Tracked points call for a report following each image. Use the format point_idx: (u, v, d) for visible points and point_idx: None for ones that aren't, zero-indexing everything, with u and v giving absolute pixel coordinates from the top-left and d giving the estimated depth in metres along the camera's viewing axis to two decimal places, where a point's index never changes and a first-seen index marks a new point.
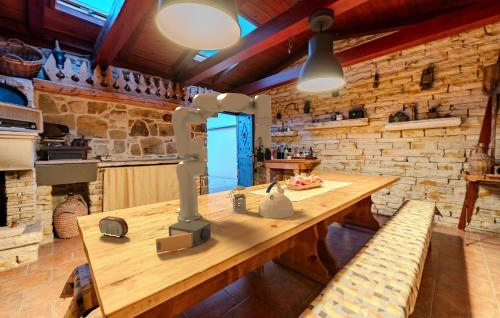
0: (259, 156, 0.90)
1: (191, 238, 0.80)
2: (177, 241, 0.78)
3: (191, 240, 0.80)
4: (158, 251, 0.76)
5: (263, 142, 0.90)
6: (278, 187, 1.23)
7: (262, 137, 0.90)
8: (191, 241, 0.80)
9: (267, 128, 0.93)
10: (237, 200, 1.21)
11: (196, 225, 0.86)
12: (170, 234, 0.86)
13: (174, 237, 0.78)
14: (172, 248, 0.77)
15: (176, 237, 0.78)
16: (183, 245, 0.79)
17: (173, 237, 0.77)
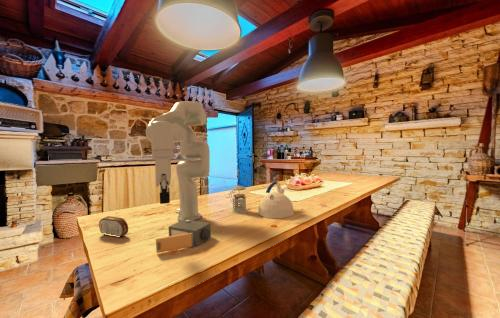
0: (164, 197, 0.74)
1: (191, 238, 0.80)
2: (177, 241, 0.78)
3: (191, 240, 0.80)
4: (158, 251, 0.76)
5: (168, 179, 0.75)
6: (278, 187, 1.23)
7: (167, 173, 0.75)
8: (191, 241, 0.80)
9: (170, 162, 0.78)
10: (237, 200, 1.21)
11: (196, 225, 0.86)
12: (170, 234, 0.86)
13: (174, 237, 0.78)
14: (172, 248, 0.77)
15: (176, 237, 0.78)
16: (183, 245, 0.79)
17: (173, 237, 0.77)
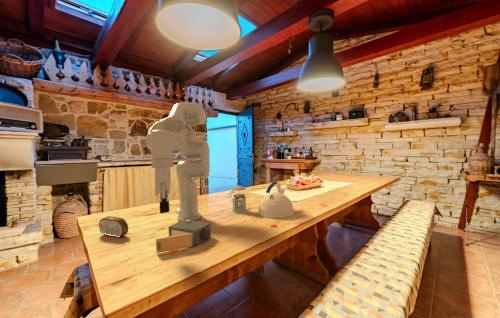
0: (164, 207, 0.77)
1: (191, 238, 0.80)
2: (177, 241, 0.78)
3: (191, 240, 0.80)
4: (158, 251, 0.76)
5: (168, 188, 0.75)
6: (278, 187, 1.23)
7: (166, 182, 0.74)
8: (191, 241, 0.80)
9: (169, 170, 0.78)
10: (237, 200, 1.21)
11: (196, 225, 0.86)
12: (170, 234, 0.86)
13: (174, 237, 0.78)
14: (172, 248, 0.77)
15: (176, 237, 0.78)
16: (183, 245, 0.79)
17: (173, 237, 0.77)
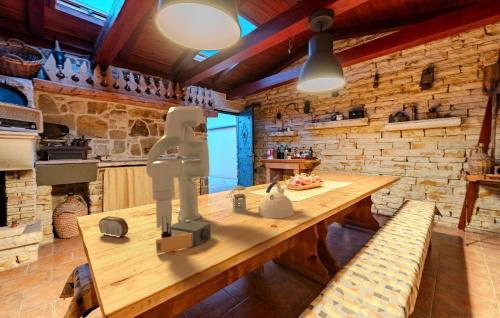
0: None
1: (191, 238, 0.80)
2: (177, 241, 0.78)
3: (191, 240, 0.80)
4: (158, 252, 0.75)
5: (169, 221, 0.74)
6: (278, 187, 1.23)
7: (168, 215, 0.74)
8: (191, 241, 0.80)
9: (171, 201, 0.78)
10: (237, 200, 1.21)
11: (196, 225, 0.86)
12: None
13: (174, 237, 0.77)
14: (172, 248, 0.77)
15: (176, 237, 0.78)
16: (183, 245, 0.79)
17: (173, 237, 0.77)
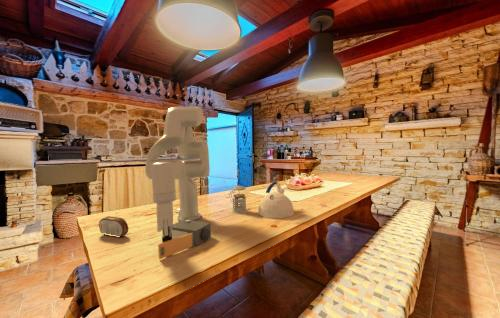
0: None
1: (192, 238, 0.80)
2: (179, 243, 0.76)
3: (192, 240, 0.80)
4: (161, 257, 0.72)
5: (170, 225, 0.72)
6: (278, 187, 1.23)
7: (169, 219, 0.71)
8: (192, 241, 0.80)
9: (172, 204, 0.74)
10: (237, 200, 1.21)
11: (196, 225, 0.86)
12: None
13: (176, 239, 0.75)
14: (174, 251, 0.75)
15: (178, 239, 0.76)
16: (184, 246, 0.78)
17: (175, 239, 0.75)
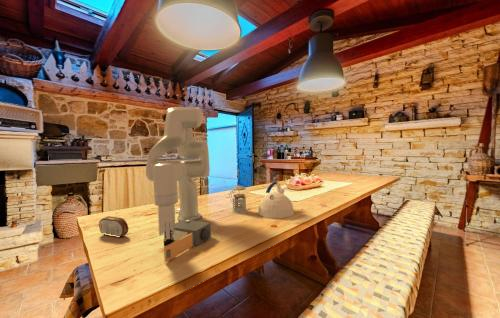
0: None
1: (192, 238, 0.80)
2: (182, 244, 0.75)
3: (192, 240, 0.80)
4: (167, 259, 0.70)
5: (172, 228, 0.70)
6: (278, 187, 1.23)
7: (171, 222, 0.69)
8: (192, 241, 0.80)
9: (174, 206, 0.73)
10: (237, 200, 1.21)
11: (196, 225, 0.86)
12: None
13: (180, 240, 0.74)
14: (178, 252, 0.74)
15: (181, 240, 0.75)
16: (186, 247, 0.77)
17: (179, 241, 0.74)
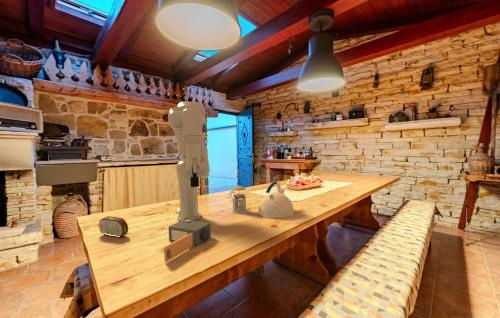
0: (194, 181, 0.83)
1: (192, 238, 0.80)
2: (182, 244, 0.75)
3: (192, 240, 0.80)
4: (167, 259, 0.70)
5: (199, 164, 0.80)
6: (278, 187, 1.23)
7: (197, 158, 0.80)
8: (192, 241, 0.80)
9: None
10: (237, 200, 1.21)
11: (196, 225, 0.86)
12: (170, 234, 0.86)
13: (180, 240, 0.74)
14: (178, 252, 0.74)
15: (181, 240, 0.75)
16: (186, 247, 0.77)
17: (179, 241, 0.74)
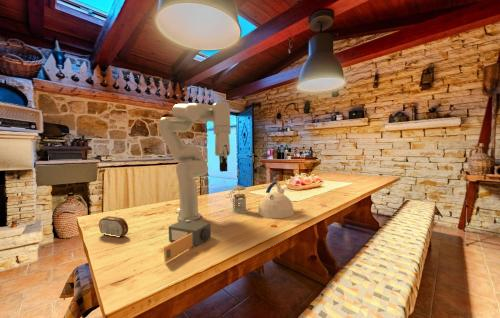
0: (224, 166, 0.94)
1: (192, 238, 0.80)
2: (182, 244, 0.75)
3: (192, 240, 0.80)
4: (167, 259, 0.70)
5: (229, 150, 0.91)
6: (278, 187, 1.23)
7: (228, 145, 0.91)
8: (192, 241, 0.80)
9: None
10: (237, 200, 1.21)
11: (196, 225, 0.86)
12: (170, 234, 0.86)
13: (180, 240, 0.74)
14: (178, 252, 0.74)
15: (181, 240, 0.75)
16: (186, 247, 0.77)
17: (179, 241, 0.74)
